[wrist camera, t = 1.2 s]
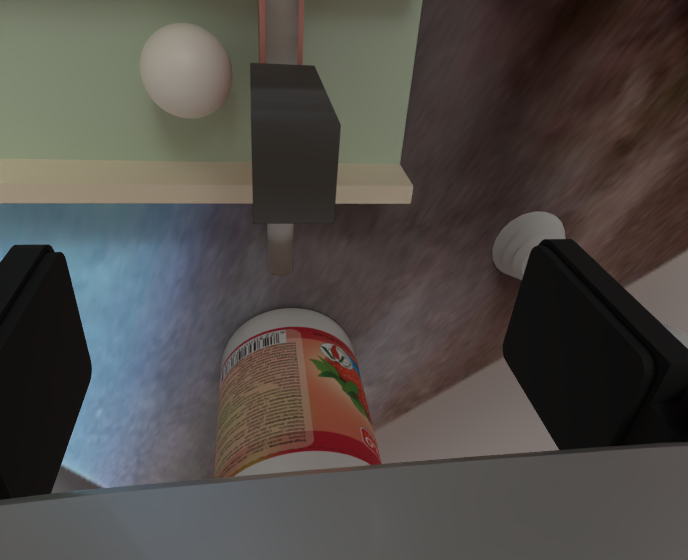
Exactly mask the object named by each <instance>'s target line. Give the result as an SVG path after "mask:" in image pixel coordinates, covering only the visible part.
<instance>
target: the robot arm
mask: <svg viewBox="0 0 688 560" xmlns="http://www.w3.org/2000/svg"><path fill="white" fill-rule="evenodd" d="M503 355H504V358H505V360H506V362H507V364H508V365H509V367H510V369H511V370H512V372H513V374H514V375H515V377H516V379H517V380H518V382H519V384H520V385H521V387H522V389H523V390H524V392H525V394H526V395H527V397H528V399H529V400H530V402H531V403H532V405H533V407H534V409H535V410H536V412H537V414H538V415H539V417H540V418H541V420H542V422H543V424H544V425H545V427H546V429H547V430H548V432H549V434H550V435H551V437H552V439H553V440H554V442H555V444H556V445H557V447H558V449H559V450H555V451H542V452H529V453H517V454H504V455H490V456H477V457H464V458H452V459H441V460H427V461H414V462H402V463H390V464H378V465H366V466H353V467H341V468H329V469H317V470H305V471H293V472H282V473H270V474H259V475H248V476H236V477H225V478H213V479H202V480H190V481H179V482H168V483H156V484H145V485H134V486H123V487H113V488H102V489H92V490H82V491H72V492H62V493H53V494H51V492H52V489H53V486H54V483H55V480H56V477H57V475H58V472H59V469H60V466H61V463H62V460H63V457H64V454H65V452H66V449H67V446H68V443H69V440H70V437H71V434H72V432H73V429H74V426H75V423H76V420H77V417H78V414H79V412H80V409H81V406H82V403H83V400H84V397H85V394H86V392H87V389H88V386H89V383H90V380H91V373H92V367H91V360H90V356H89V352H88V348H87V343H86V339H85V335H84V331H83V327H82V323H81V319H80V315H79V311H78V307H77V303H76V299H75V295H74V291H73V287H72V282H71V278H70V274H69V270H68V266H67V262H66V259H65V256H64V254H63V253H62V252H54V250H53V248H52V247H51V246H50V245H14V246H13V247H12V248H11V249H10V250H9V251H8V253H7V254H6V256H5V257H4V258H3V260H2V261H1V262H0V560H688V348H686V347H685V346H684V345H683V344H682V343H681V342H680V341H679V340H678V339H677V338H676V337H675V336H674V335H673V334H672V333H671V332H670V331H669V330H667V329H666V328H665V327H664V326H663V325H662V324H661V323H660V322H659V321H658V320H657V319H656V318H655V317H654V316H653V315H652V314H651V313H649V312H648V311H647V310H646V309H645V308H644V307H643V306H642V305H641V304H640V303H639V302H638V301H637V300H636V299H635V298H634V297H633V296H632V295H631V294H629V293H628V292H627V291H626V290H625V289H624V288H623V287H622V286H621V285H620V284H619V283H618V282H617V281H616V280H615V279H614V278H613V277H612V276H610V275H609V274H608V273H607V272H606V271H605V270H604V269H603V268H602V267H601V266H600V265H599V264H598V263H597V262H596V261H595V260H594V259H593V258H591V257H590V256H589V255H588V254H587V253H586V252H585V251H584V250H583V249H582V248H581V247H580V246H579V245H578V244H577V243H576V242H575V241H573V240H572V239H544V240H542V241H541V242H540V243H539V245H538V246H535V247H533V248H532V250H531V252H530V255H529V258H528V262H527V265H526V268H525V272H524V275H523V278H522V282H521V285H520V288H519V292H518V295H517V299H516V302H515V305H514V309H513V312H512V315H511V319H510V322H509V325H508V329H507V332H506V335H505V339H504V342H503Z"/></svg>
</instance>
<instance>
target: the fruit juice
mask: <svg viewBox="0 0 688 560" xmlns="http://www.w3.org/2000/svg"><path fill="white" fill-rule="evenodd" d="M378 464H381V460H380V455H379V451H378V447H377V443H376V439H375V435H374V430H373V426H372V422H371V418H370V414H369V410H368V406H367V402H366V398H365V393H364V389H363V385H362V381H361V377H360V373H359V369H358V365H357V361H356V357H355V352H354V349H353V347H352V344H351V342H350V340H349V338H348V336H347V334H346V333H345V332H344V330H343V329H342V328H341V327H340V326H339V325H338V324H337V323H336V322H335V321H333V320H332V319H330V318H329V317H327V316H325V315H323V314H321V313H319V312H316V311H312V310H308V309H302V308H282V309H275V310H271V311H268V312H264V313H262V314H259V315H257V316H255V317H253V318H251V319H250V320H248V321H247V322H245V323H244V324H243V325H241V326H240V327H239V328H238V329H237V330H236V331H235V332H234V334H233V335H232V336H231V338H230V339H229V341H228V343H227V345H226V347H225V350H224V353H223V357H222V361H221V370H220V387H219V403H218V420H217V436H216V453H215V470H214V478H225V477H236V476H248V475H259V474H270V473H282V472H293V471H305V470H317V469H329V468H341V467H353V466H366V465H378Z"/></svg>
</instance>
